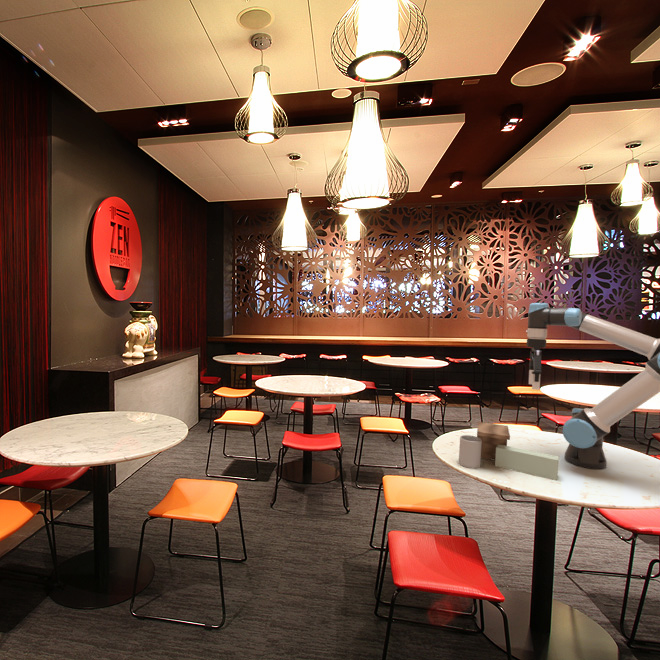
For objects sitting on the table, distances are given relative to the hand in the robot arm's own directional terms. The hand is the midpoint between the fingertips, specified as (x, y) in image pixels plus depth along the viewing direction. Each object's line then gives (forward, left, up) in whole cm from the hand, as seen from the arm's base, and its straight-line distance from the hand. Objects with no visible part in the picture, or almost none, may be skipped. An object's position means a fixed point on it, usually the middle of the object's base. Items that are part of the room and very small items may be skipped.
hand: (533, 386), depth 167 cm
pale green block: (+3, +17, -32) cm, 36 cm away
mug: (+24, +19, -32) cm, 44 cm away
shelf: (+16, +16, -32) cm, 39 cm away
